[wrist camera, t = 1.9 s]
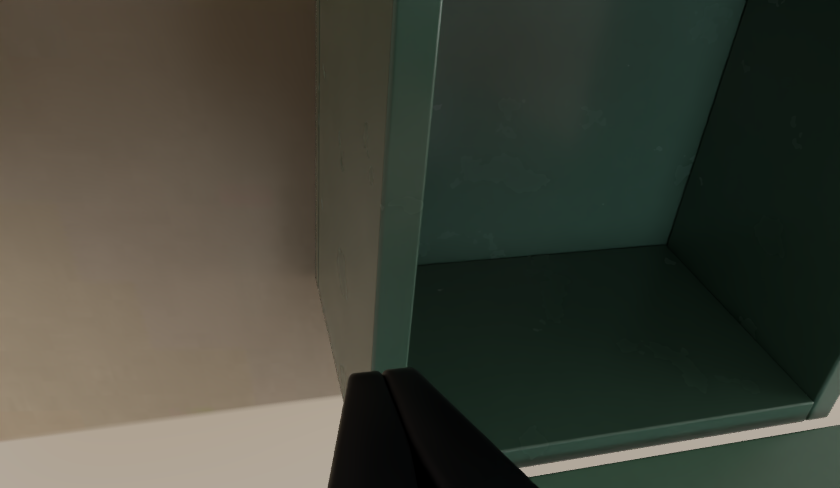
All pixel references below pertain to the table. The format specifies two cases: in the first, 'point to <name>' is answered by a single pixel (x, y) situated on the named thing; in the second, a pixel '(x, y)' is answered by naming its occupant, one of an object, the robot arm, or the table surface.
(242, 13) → the table surface
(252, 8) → the table surface
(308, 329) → the table surface
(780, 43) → the bin
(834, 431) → the bin lid
